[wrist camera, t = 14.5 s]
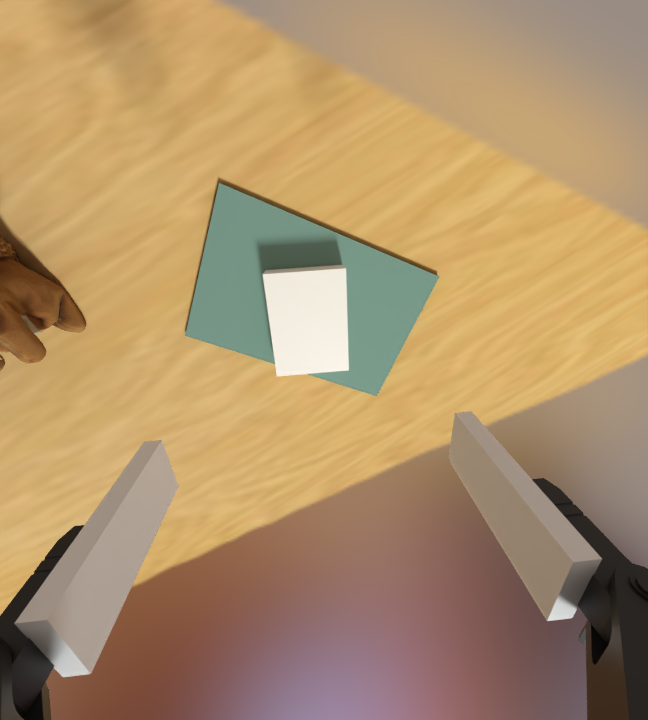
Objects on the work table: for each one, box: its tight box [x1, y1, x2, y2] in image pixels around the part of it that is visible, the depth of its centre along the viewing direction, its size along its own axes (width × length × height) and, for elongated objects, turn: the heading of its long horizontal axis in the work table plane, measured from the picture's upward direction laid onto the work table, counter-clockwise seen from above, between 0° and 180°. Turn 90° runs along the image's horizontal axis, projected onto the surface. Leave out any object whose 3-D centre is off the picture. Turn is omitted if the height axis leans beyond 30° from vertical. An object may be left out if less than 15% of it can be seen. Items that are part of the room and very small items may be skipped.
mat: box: [185, 183, 439, 396], centre depth 34 cm, size 24×16×1 cm, turn 69°
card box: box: [263, 265, 349, 376], centre depth 33 cm, size 8×3×11 cm
